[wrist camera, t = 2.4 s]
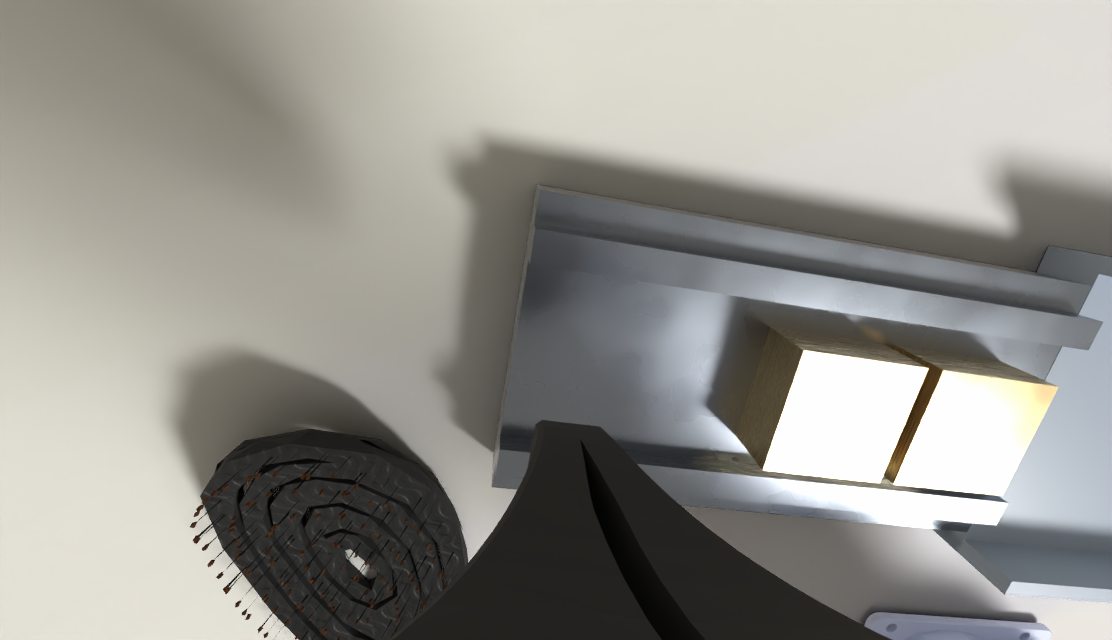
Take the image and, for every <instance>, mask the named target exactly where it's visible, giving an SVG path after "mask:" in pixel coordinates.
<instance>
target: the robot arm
mask: <svg viewBox="0 0 1112 640" xmlns="http://www.w3.org/2000/svg"><path fill="white" fill-rule="evenodd" d="M1051 636H1052V633H1051V631H1050V630H1049V629H1048V628H1047V627H1046V626H1045V625H1044V624H1041V623H1028V622H1013V621H999V620H985V619H970V618H956V617H942V616H927V615H913V614H899V613H884V612H876V613H873V614H871V615H870V616H869V617H868V618H867V620H866V622H865V624H864V626H863V625H861V624H859V623H857V622H855V621H854V620H852V619H850V618H848V617H846V616H844V615H842V614H841V613H839V612H837V611H835V610H833V609H831V608H829V607H828V606H826V605H824V604H822V603H820V602H818V601H817V600H815V599H813V598H812V597H810V596H808V595H806V594H805V593H803V592H801V591H799V590H798V589H796V588H794V587H793V586H791V585H789V584H788V583H786V582H785V581H783V580H782V579H780V578H778V577H777V576H775V575H774V574H772V573H771V572H769V571H767V570H766V569H764V568H763V567H761V566H759V565H758V564H756V563H755V562H753V561H752V560H750V559H749V558H748V557H746V556H745V555H743V554H742V553H740V552H739V551H737V550H736V549H735V548H733V547H732V546H731V545H729V544H728V543H727V542H725V541H724V540H723V539H721V538H720V537H719V536H717V535H716V534H715V533H713V532H712V531H711V530H709V529H708V528H707V527H705V526H704V525H703V524H702V523H700V522H699V521H698V520H697V519H696V518H694V517H693V516H692V515H691V514H690V513H688V512H687V511H686V510H685V509H684V508H683V507H682V506H681V505H679V504H678V503H677V502H676V501H675V500H674V499H673V498H671V497H670V496H669V495H668V494H667V493H666V492H665V491H664V490H663V489H662V488H661V487H660V486H658V485H657V484H656V483H655V482H654V481H653V480H652V479H651V478H650V477H649V476H648V475H647V474H646V473H645V472H644V471H643V470H642V469H641V468H640V467H639V466H638V465H637V464H636V463H635V462H634V461H633V460H632V459H631V458H630V456H629V455H628V454H627V453H626V452H625V451H624V450H623V449H622V448H621V447H620V446H619V445H618V444H617V443H616V442H615V441H614V440H613V439H612V438H611V437H610V436H609V435H608V434H607V433H606V432H605V431H604V430H603V429H602V428H601V427H600V426H592V425H583V424H574V423H565V422H556V421H547V420H541V421H540V422H538V423H537V424H535V430H534V435H533V440H532V446H531V451H530V457H529V462H528V468H527V471H526V474H525V476H524V478H523V480H522V482H521V484H520V486H519V488H518V490H517V492H516V494H515V496H514V498H513V500H512V502H511V503H510V505H509V507H508V508H507V510H506V512H505V513H504V515H503V517H502V518H501V520H500V521H499V523H498V524H497V526H496V527H495V529H494V530H493V532H492V533H491V534H490V536H489V537H488V538H487V540H486V541H485V542H484V544H483V545H482V546H481V548H480V549H479V550H478V552H477V553H476V554H475V555H474V557H473V558H472V559H471V560H470V561H469V563H468V564H467V565H466V566H465V567H464V568H463V569H462V570H461V572H460V573H459V574H458V575H457V576H456V577H455V578H454V579H453V580H452V581H451V582H450V583H449V584H448V585H447V586H446V588H445V589H444V590H443V591H442V592H441V593H440V594H439V595H438V596H437V597H436V598H435V599H434V600H433V601H432V602H431V603H430V604H429V605H428V606H427V607H426V608H425V609H423V610H422V611H421V612H420V613H419V614H418V615H417V616H415V617H414V618H413V619H412V620H411V621H410V622H409V623H407V624H406V625H405V626H404V627H403V628H402V629H401V630H399V631H398V632H397V633H396V634H395V635H394V636H393V637H391V638H390V639H389V640H1050V639H1051Z"/></svg>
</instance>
